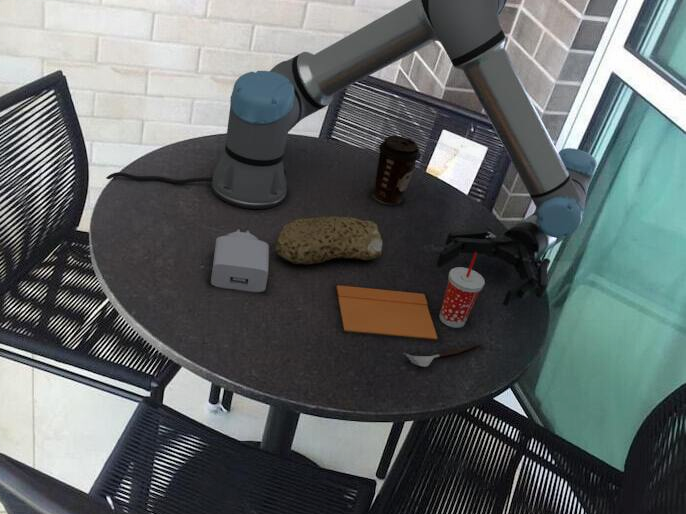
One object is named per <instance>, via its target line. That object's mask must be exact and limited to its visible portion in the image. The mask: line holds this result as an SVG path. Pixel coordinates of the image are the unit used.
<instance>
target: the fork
mask: <svg viewBox="0 0 686 514" xmlns="http://www.w3.org/2000/svg"><path fill="white" fill-rule="evenodd" d="M481 345H482V344H481V343H477V344H476V343H475V344H469V345H464V346H458V347H453V348H450V349H447V350H445V351H442V352H440V353H437V354H435V355H411V354H408V353H406V352H403V353H402V354H403V355H405V357H406V358H408V360H409V361H410V363H411V364H414V365H416V366H418V367H422V368H427V367H429V366H430V365H431V363H432V362H433V360H434V359H437V358H442V357H443V358H444V357H450V356H455V355H459V354H462V353H464V352H467V351H469V350H472V349H475V348H478V347H479V346H481Z"/></svg>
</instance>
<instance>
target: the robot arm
mask: <svg viewBox="0 0 686 514" xmlns="http://www.w3.org/2000/svg"><path fill="white" fill-rule="evenodd" d="M507 1H508V0H409V1H407V2H405V3H404V4H402V5H400V6H398V7H397V8H395V9H393V10H391V11H389V12H388V13H386V14H383V15H382V16H380V17H379V18H377V19H374V20H373V21H371V22H370V23H368V24H366V25H364V26H363V27H361V28H359V29H357V30H355V31H354V32H352V33H350V34H348V35H346V36H344V37H343V38H341V39H340V40H338V41H336V42H334V43H332V44H331V45H328V46H326V47H325V48H323V49H322V50H319V51H318V52H316V53H312V52H309V51H302V52H300V53H298V54H297V55H295V56H292V58H290V59H286V60H282V61H281V62H279V63H277V64H275V65H274V67H272V68H271V69H270V70H257V71H256V72H255V71H249V72H246V73H244V74H241V76H239V77H238V78H237V79H236V81H235V82H234V84H233V88H232V92H231V95H230V100H229V101H230V105H229V113H228V122H227V127H226V129H227V130H226V137H225V146H224V150H223V153H222V155H221V157H220V159H219V161H218V163H217V165H216V167H215V169H214V171H213V173H212V176H208V177H206V176H205V177H195V178H194V177H192V178H185V179H175V178H174V179H172V178H168V177H166V176H165V177H164V176H159V175H143V176H142V175H134V174H130V173H126V172H121V171H120V172H119V171H118V172H113V173H111V174H109V175H107V176H106V177H105V179H106V180H112V179H113V178H117V177H124V178H128V179H131V180H136V181H162V182H166V183H170V184H189V183H190V184H191V183H199V182H200V183H201V182H210V189H211V191H212V193H213V194H214V195H215V196H216V197H217V198H219V199H220V200H221V201H223V202H225V203H227V204H229V205H232V206H235V207H237V208H241V209H242V208H243V209H248V210H266V209H271V208H275V207H277V206H279V205H281V204H282V203H283V202H284V201H285V199H286V195H287V180H286V175H287V170H286V169H285V167H284V156H285V149H286V145H287V138H288V135H289V133H290V131H291V130H292V129H293V128H294V127H295V126H296V125H297V124H299V122H301V121H303V120H304V119H306V118H307V117H309V116H311V115H313V114H315V113H316V112H317V113H318V112H319V111H320V110H322V109H324V108H327V107H328V106H330V105H331V104H332V102H333V99H334V96H335V94H337V93H338V92H340V91H343V90H344V89H346V88H348V87H350V86H352V85H355V84H356V83H358V82H359V81H361V80H363V79H365V78H367V77H369V76H371V75H373V74H375V73H377V72H378V71H381V70H382V69H384V68H386V67H388V66H391V65H392V64H394V63H396V62H399V61H400V60H402V59H404V58H405V57H408V56H409V55H411V54H414V53H416V52H417V51H419V50H422V49H423V48H425V47H427V46H429V45H431V44H432V43H435V42H439V43H440V44H441V46H442V47H443V49H444V51H445V54H446V55H447V57H448V58H449V61H450V63H451V65H452V66H453V68H455V69H457V70H460V71H463V73H464V75H465V77H466V79H467V80H468V82H469V84H470V86H471V88H472V89H473V92H474V94H475V95H476V97H477V99H478V101H479V103H480V105H481V107H482V109H483V110H484V113H485V114H486V116H487V118H488V120H489V122H490V123H491V125H492V127H493V129H494V131H495V133H496V135H497V137H498V138H499V141H500V142H501V144H502V146H503V148H504V149H505V151H506V153H507V155H508V157H509V159H510V161H511V163H512V164H513V166H514V168H515V170H516V172H517V174H518V176H519V178H520V179H521V181H522V183H523V185H524V187H525V189H526V191H527V192H528V194H529V196H530V199H531V200H532V202H533V204H534V206H535V210H534V212H533V213H532V214H531V215H529V216H527V217H526V218H524V219H522V220H521V221H519V222H517V223H516V224H515V225H513V226H512V227H510V228H508V229H507V230H506V231H505V232H504V233H503V234H501V235H495V234H493V233H492V228H491V227H490V226H486V227H483V228H481V229H469V230H458V231H457V230H455V231H449V232H448V234H447V237H446V240H445V243H444V245H445V246H444V249H443V250H442V251H441V252H440V253H439V256H438V259H437V261H436V267H438V268H440V269H441V268H442V267H443V266H445V265H446V264H448V263H450V262H451V261H452V260H454V259H456V258H457V257H459V255H460V253H461V254H474V253H475V252H476V253H477V255H478V254H479V255H486V256H487V257H489V258H498V259H499V260H501V261H503V262H505V263H507V264H508V265H511V266H513V267H514V270H515V272H516V273H518V275H519V278H520V281H519V282H518V283H516V284H515V285H514V286H512V287H511V288H510V289H508V290H507V291H506V295H505V297H504V299H503V303H502V305H503V306H506V307H508V306H509V305H510V304H512V303H513V302H514V301H515V300H516V299H518V298H520V299H523V300H524V299H526V297H528V296H529V295H532V294H535V295H536V297H537V298H540V299H542V298H544V296H545V294H546V291H547V289H548V286H549V281H548V280H549V279H548V268H549V265H550V263H551V259H549V258H547V257H546V258H545V257H544V258H543V259H539V258H540V257H542V256H543V255H544V254H546V253H547V252H549V251H550V250H551V249H553V248H554V247H555V246H556V245H558V244H559V243H561V242H562V241H564V240H566V239H567V238H568V237H570V236H572V235H573V234H574V233H576V232H577V230H578V229H579V228H580V226H581V223H582V221H583V219H584V216H585V206H586V200H587V196H588V191H589V186H590V184H591V182H592V179H593V178H594V176H595V171H596V168H597V165H598V162H597V160H596V157H594V156H593V155H592V154H590V153H589V152H586V151H583V150H581V149H578V148H571V147H567V148H562V149H560V150H559V151H558V150H557V147H556V146H555V144H554V141H553V140H552V137H551V136H550V134H549V131H548V130H547V128H546V126H545V124H544V122H543V121H542V118H541V117H540V115H539V112H538V110H537V109H536V107H535V105H534V102H533V101H532V99H531V97H530V95H529V93H528V91H527V89H526V87H525V85H524V83H523V81H522V79H521V78H520V75H519V74H518V72H517V69H516V68H515V66H514V63H513V62H512V60H511V58H510V56H509V54H508V52H507V50H506V48H505V43H506V40H507V36H506V34H505V32H504V31H503V28H502V26H501V25H500V21H499V15H500V14H502V12H503V10H504V9H505V7H506V4H507ZM532 265H534V268H535V272H536V273H534V270H533V268H532Z"/></svg>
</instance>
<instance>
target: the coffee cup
mask: <svg viewBox="0 0 686 514" xmlns="http://www.w3.org/2000/svg"><path fill="white" fill-rule="evenodd" d="M378 150H379V155H378V159H377V166H376V171H375V172H376V173H375V177H374V184H373V192H372V194H371V196H372V198H373V199H374V200H376V202H379V203H381V204H385V205H388V206H394V205H398V204H400V203H401V202H402V200H403V197H404V194H405V191H406V190H407V188H408V186H409V183H410V181H411V178H412V175H413V173H414V170H415V168H416V161H419V160H420V158H421V155H422V153H421V152H420V148H419V145H418V144H417V143H416V140H415V141H414V140H413V139H412V138H410V137H409V138H408V137H404V136H401V135H390V136H387V137H385V138H384V141H382V142H381V143H380V145H379V146H378Z"/></svg>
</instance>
